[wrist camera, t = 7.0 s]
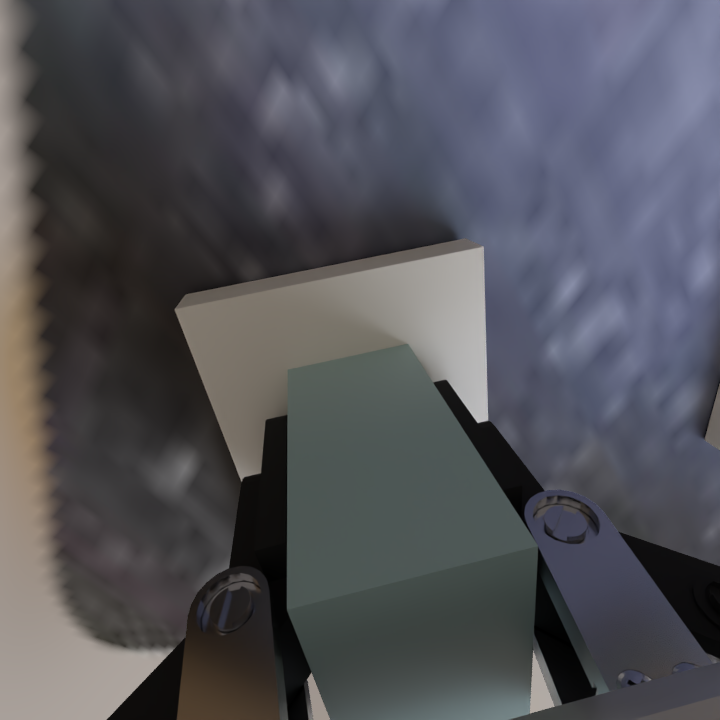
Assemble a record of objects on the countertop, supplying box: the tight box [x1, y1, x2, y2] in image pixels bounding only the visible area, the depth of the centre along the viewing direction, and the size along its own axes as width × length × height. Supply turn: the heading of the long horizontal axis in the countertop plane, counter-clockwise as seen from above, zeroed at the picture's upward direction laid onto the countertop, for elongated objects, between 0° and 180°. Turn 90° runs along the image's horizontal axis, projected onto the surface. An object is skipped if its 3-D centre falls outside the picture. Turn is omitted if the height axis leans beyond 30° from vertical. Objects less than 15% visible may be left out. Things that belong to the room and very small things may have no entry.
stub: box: [175, 238, 538, 720], centre depth 9 cm, size 9×7×7 cm
